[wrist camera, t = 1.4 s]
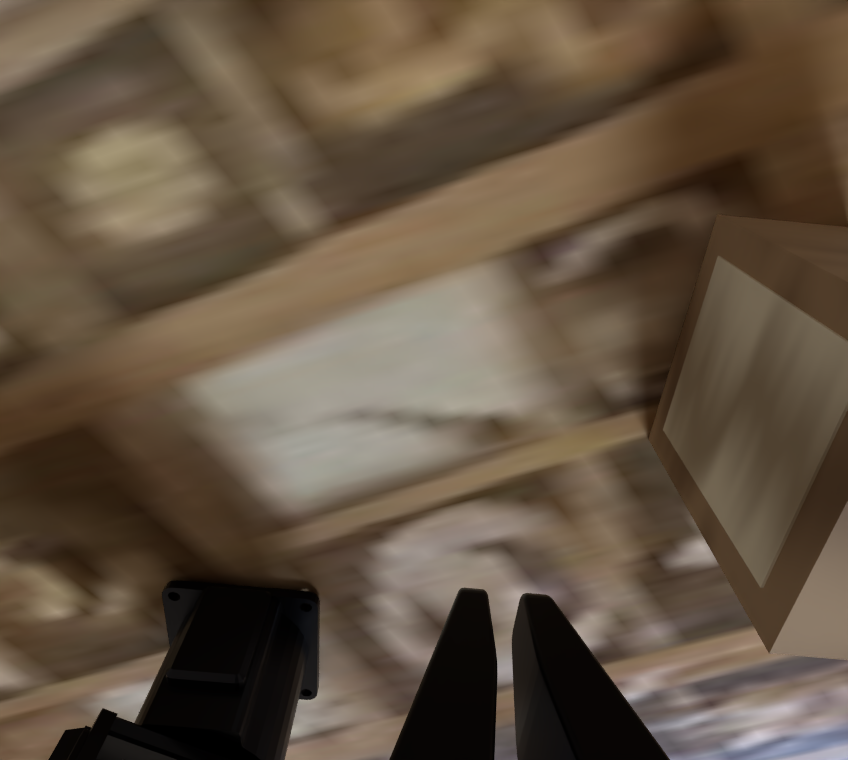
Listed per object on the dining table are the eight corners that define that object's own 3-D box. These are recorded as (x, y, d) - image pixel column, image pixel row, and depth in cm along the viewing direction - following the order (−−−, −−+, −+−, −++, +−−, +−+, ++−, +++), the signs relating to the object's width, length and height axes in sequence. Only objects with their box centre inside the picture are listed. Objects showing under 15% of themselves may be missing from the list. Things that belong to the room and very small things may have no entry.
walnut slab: (757, 448, 22) (941, 667, 14) (646, 438, 22) (765, 653, 14) (848, 226, 18) (1170, 349, 10) (714, 214, 18) (932, 327, 10)
